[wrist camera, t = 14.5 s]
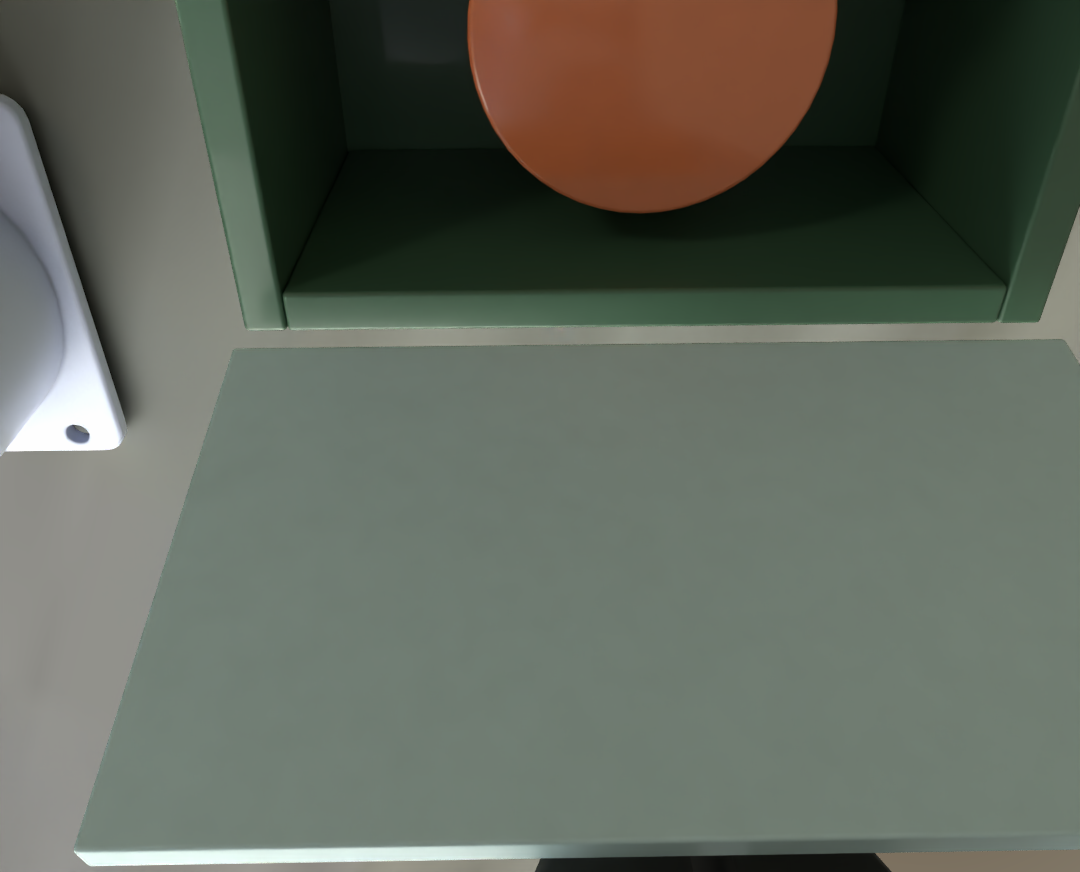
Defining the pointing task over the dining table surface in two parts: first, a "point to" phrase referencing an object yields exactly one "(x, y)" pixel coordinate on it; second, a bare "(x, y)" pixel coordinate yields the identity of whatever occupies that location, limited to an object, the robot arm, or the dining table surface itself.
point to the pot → (647, 91)
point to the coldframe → (632, 238)
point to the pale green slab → (613, 608)
